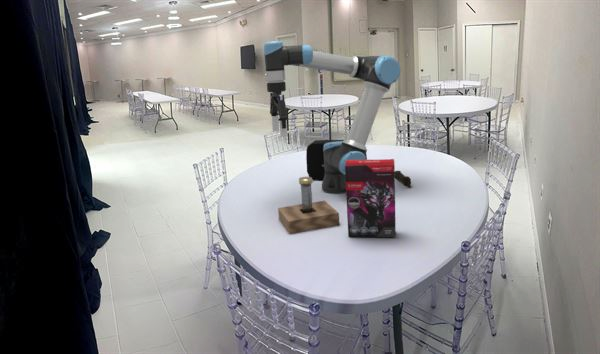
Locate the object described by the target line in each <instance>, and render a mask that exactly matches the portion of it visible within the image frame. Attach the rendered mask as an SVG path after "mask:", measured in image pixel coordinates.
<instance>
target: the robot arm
mask: <svg viewBox="0 0 600 354" xmlns="http://www.w3.org/2000/svg"><path fill="white" fill-rule="evenodd" d="M263 55H264V64H265V65H264V66H265V74H264V77H266V78H265V79H266V81H267V82H266V89H267V90H266V91H267V92H268V93H269V96H270V98H269V99H270V103H269V109H270V110H269V114H270V116H271V125H272V126H271V127H272V128H271V129H272V132H279V134H280V138H282V137H283V138H284V137H288V124H287V123H288V122H287V120H288V119H289V117H288V112H287V106H286V101H285V95H284V94H282V92H285V91H286V90H287V88H286V87H287V86H286V84H287V83H286V82H285V80H286V70H285V66H295V67H302V68H308V69H314V70H320V71H325V72H331V73H339V74H344V75H348V77H350V78H352V79H353V78H354V79H358V80H362V81H363V84H364V87H365V88H364V91H363V93H362V96H361V98H360V102H359V105H358V107H357V110H356V113H355V115H354V118H353V121H352V123H351V126H350V129H349V132H348V135H347V138H346V139H343V140H344V141H337V142H329V143H326V144H324V148H323V152H324V169H325V175H324V178H323V181H321V191H323V192H324V193H329V194H342V193H343V194H344V193H345V194H346V178H345V164H346V160H366V157H365V154H366V155H367V151H368V149H367V146H366V145H367V142H368V139H369V136H370V133H371V130H372V127H373V125H374V123H375V120H376V117H377V114H378V112H379V108H380V107H381V104H382V101H383V97H384V95H385V93H387V92H390V90H391V86H392V85H393V84H394V83H396V82H397V81H398V80H399V78H400V76H401V66H400V64H399V62H398V60H397V58H395V57H393V56H391V55H386V54H385V55H370V56H369V55H368V56H367V55H366V56H358V55H353V56H352V57H350V56H344V55H339V54H333V53H328V52H322V51H318V50H317V51H316V50H313V48H312V46H311V45H310V44H300V45H298V44H297V45H284V44H283V41H280V40H279V41H275V40H274V41H266V42H265V43H264V44H263Z"/></svg>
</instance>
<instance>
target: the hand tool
mask: <svg viewBox="0 0 600 354" xmlns="http://www.w3.org/2000/svg"><path fill="white" fill-rule="evenodd" d="M395 179H397V180H398V181H400V182H401V183H402V184H403V186H404V187H406V188H411V187H412V186H411V184H412V179H411V177H410V176H406V175H404V174H403V173H402V171H401V170H395Z"/></svg>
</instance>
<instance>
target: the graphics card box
mask: <svg viewBox="0 0 600 354" xmlns="http://www.w3.org/2000/svg"><path fill="white" fill-rule="evenodd" d="M395 166H396V165H395V158H391V159H390V158H389V159H388V158H385V159H381V158H380V159H367V160H346V164H345V178H346V192H345V195H346V196H345V199H346V215H347V216H346V217H347V219H346V220H347V236H348V237H351V238H352V237H353V238H354V237H355V238H357V237H358V238H368V237H369V238H396V232H397V231H396V230H397V229H396V228H397V227H396V178H395V171H396V169H395V168H396V167H395Z"/></svg>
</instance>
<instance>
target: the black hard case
mask: <svg viewBox="0 0 600 354" xmlns="http://www.w3.org/2000/svg"><path fill="white" fill-rule="evenodd" d="M344 140H345V139H319V140H318V139H317V140H314V141H312V142H311V143H310V144H308V145H307V146H306V159H305V160H306V172H307V174H308V175H307V176H308V177H312V181H313V180H315V181H321V182H323V178H324V175H325V169H324V152H323V148H324V144H326V143H329V142H337V141H344ZM367 156H368V155H367V153H366V154H365V157H366V160H368V157H367Z"/></svg>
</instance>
